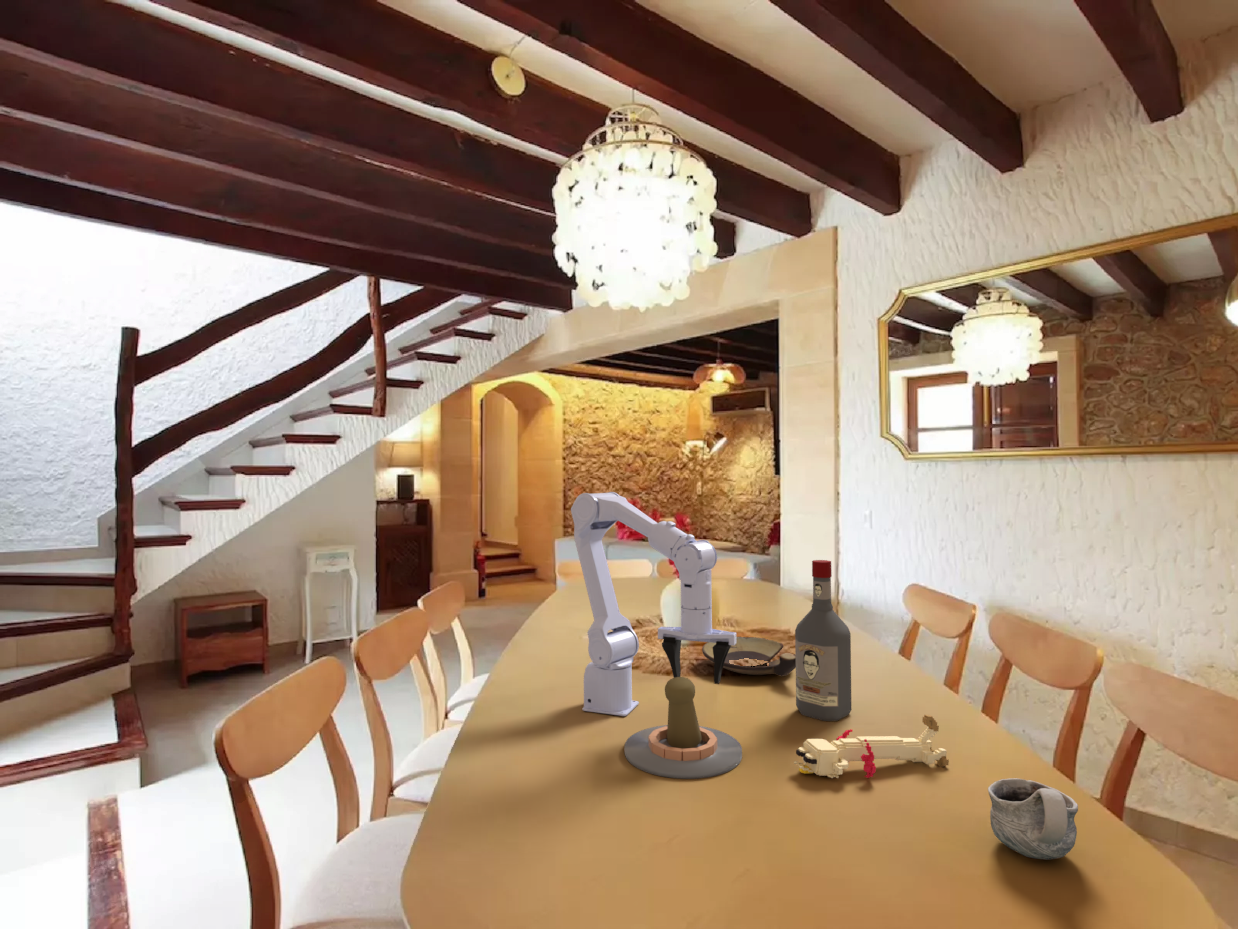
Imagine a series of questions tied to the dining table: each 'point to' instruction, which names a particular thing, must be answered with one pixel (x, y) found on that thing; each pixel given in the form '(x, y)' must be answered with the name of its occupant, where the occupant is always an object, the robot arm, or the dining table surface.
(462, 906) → the dining table surface
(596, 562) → the robot arm
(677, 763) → the ring platter
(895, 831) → the dining table surface
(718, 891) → the dining table surface
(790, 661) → the oil lamp
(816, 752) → the cream toy figure
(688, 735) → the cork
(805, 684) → the liquor
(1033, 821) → the mug
